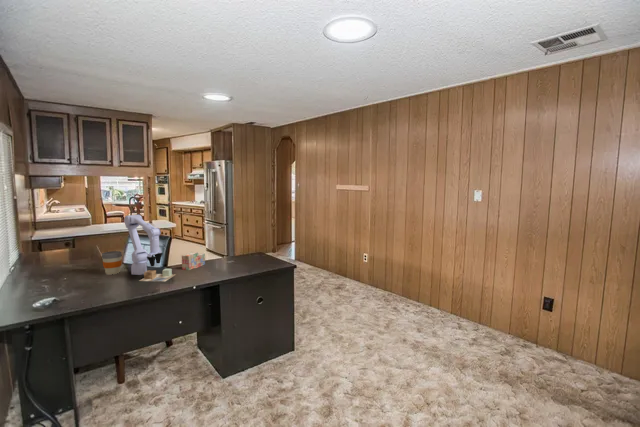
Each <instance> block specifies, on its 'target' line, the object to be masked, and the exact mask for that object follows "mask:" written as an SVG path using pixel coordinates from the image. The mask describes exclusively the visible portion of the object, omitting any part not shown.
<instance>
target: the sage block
mask: <svg viewBox="0 0 640 427" xmlns="http://www.w3.org/2000/svg"><path fill="white" fill-rule="evenodd" d="M172 271H173V269H172V268H164V269H163V270H162V274H163V276H170V275H172V274H173V272H172Z"/></svg>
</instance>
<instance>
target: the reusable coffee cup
mask: <svg viewBox="0 0 640 427" xmlns="http://www.w3.org/2000/svg"><path fill="white" fill-rule="evenodd" d="M122 256H123V254H122V251H119V250H114V251H113V250H112V251H106V252H103V253H102V254H101V259H102V266H103V268H104V271H105V272H104V273H105V275H108V276H110V275H112V274H113V275H117V273H118V274H119V272H120V273H121V268H122V267H121V266H122V263H123V262H122V261H123V260H122Z"/></svg>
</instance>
